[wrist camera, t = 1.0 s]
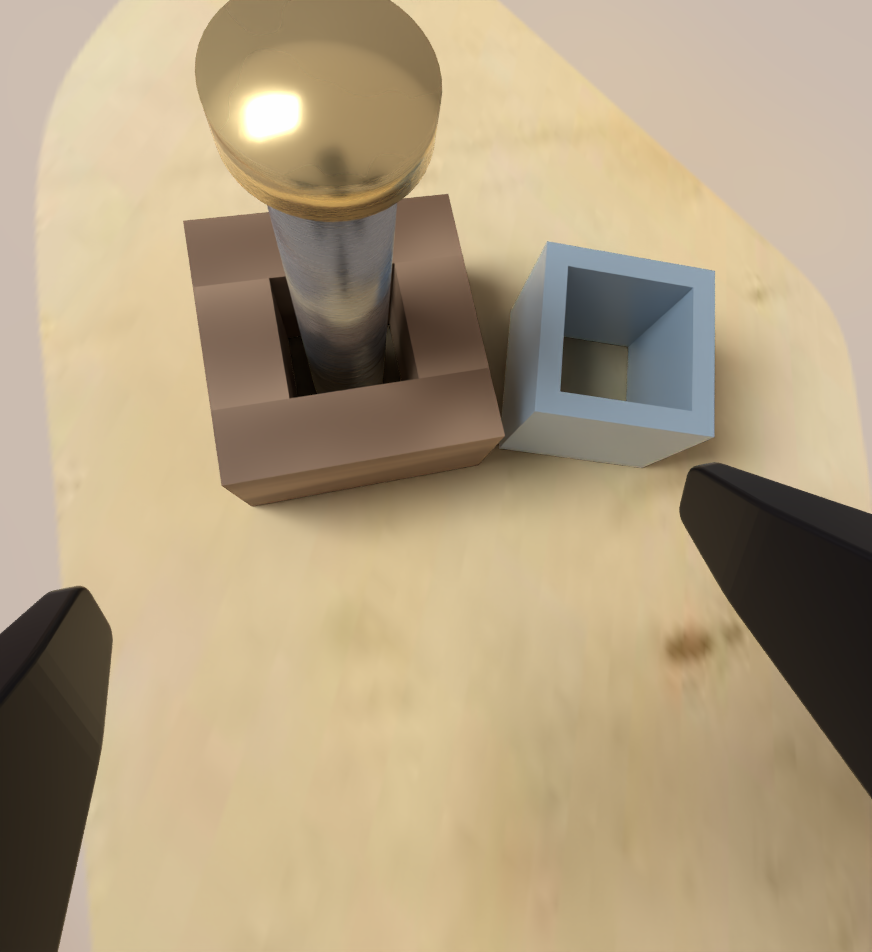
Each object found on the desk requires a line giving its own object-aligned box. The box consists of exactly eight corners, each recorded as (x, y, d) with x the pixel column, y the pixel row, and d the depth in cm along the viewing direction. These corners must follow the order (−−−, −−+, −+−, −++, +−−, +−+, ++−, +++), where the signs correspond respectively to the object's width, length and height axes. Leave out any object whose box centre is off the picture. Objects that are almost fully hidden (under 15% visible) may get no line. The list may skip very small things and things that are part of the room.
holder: (641, 467, 23) (714, 437, 19) (498, 448, 23) (534, 411, 18) (646, 332, 25) (714, 271, 20) (510, 310, 24) (547, 241, 19)
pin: (414, 400, 23) (483, 134, 9) (324, 441, 22) (259, 216, 9) (370, 318, 23) (376, -49, 10) (281, 355, 22) (154, 13, 9)
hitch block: (478, 464, 23) (505, 436, 18) (251, 506, 21) (221, 485, 17) (433, 265, 24) (448, 194, 20) (218, 291, 23) (183, 220, 18)
